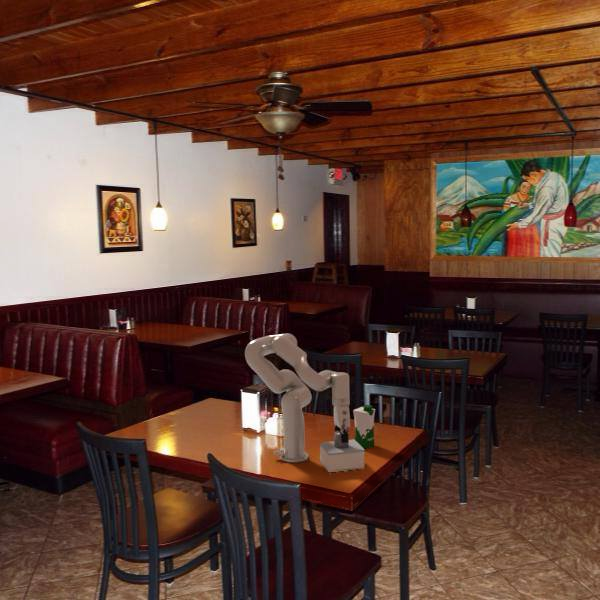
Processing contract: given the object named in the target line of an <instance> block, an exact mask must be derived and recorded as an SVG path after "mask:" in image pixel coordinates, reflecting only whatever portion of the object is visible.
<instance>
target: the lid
mask: <svg viewBox="0 0 600 600" xmlns="http://www.w3.org/2000/svg"><path fill="white" fill-rule="evenodd" d="M318 445H319V447H320V446H321V447H322V448H323V449H324V451H325V452H326V453H327V454H328V455H337V454H347V453H356V452H364V453H365V451H366V449H364V448H363V447H362V446H361V445H359V444H358V443H357V442H356V441H355V438H354V439H353V438H352V439H349V447H348V448H343V449H340V448H336V447H334V440H333V441H324V442H319V444H318Z"/></svg>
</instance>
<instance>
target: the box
mask: <svg viewBox="0 0 600 600" xmlns="http://www.w3.org/2000/svg"><path fill="white" fill-rule="evenodd" d="M319 460H320V461H319V462H320V463H321V465H322V466H323V467H324V469H325V470H326V472H327V473H328V472H329V473H328V474H331V473H330V472H336V473H339V472H338V471H344V472H349V471H348V470H353V471H355V470H354V469H362V468H364V469H365V452H356V453H347V454H337V455H328V454H327V453H326V452H325V451H324V449H323V448H322V447H321V446H320V445H319ZM362 470H363V469H362Z"/></svg>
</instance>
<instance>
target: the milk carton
mask: <svg viewBox="0 0 600 600" xmlns="http://www.w3.org/2000/svg"><path fill="white" fill-rule="evenodd" d="M352 411H353V412H352V413H353V417H354V440H355V441H356V442H357V443H358V444H359V445H361V446H362V447H363V448H366V449H365V450H368V449H370V448H372V447H374V446H376V445H375V444H376V443H375V413H376V409H375V408H373V406H372V405H370V404H365V405H363V406H360V407H358V408H355V409H353V410H352ZM373 445H374V446H373ZM371 446H372V447H371ZM369 447H370V448H369ZM367 448H368V449H367Z"/></svg>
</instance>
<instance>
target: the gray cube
mask: <svg viewBox="0 0 600 600" xmlns="http://www.w3.org/2000/svg"><path fill="white" fill-rule="evenodd" d="M333 432H334V433H333V441H334V447H336V448H340V449H343V448H348V447H349V442H347V443H342V442H341V434H342V432H341V431H336V432H335V431H333Z"/></svg>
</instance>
